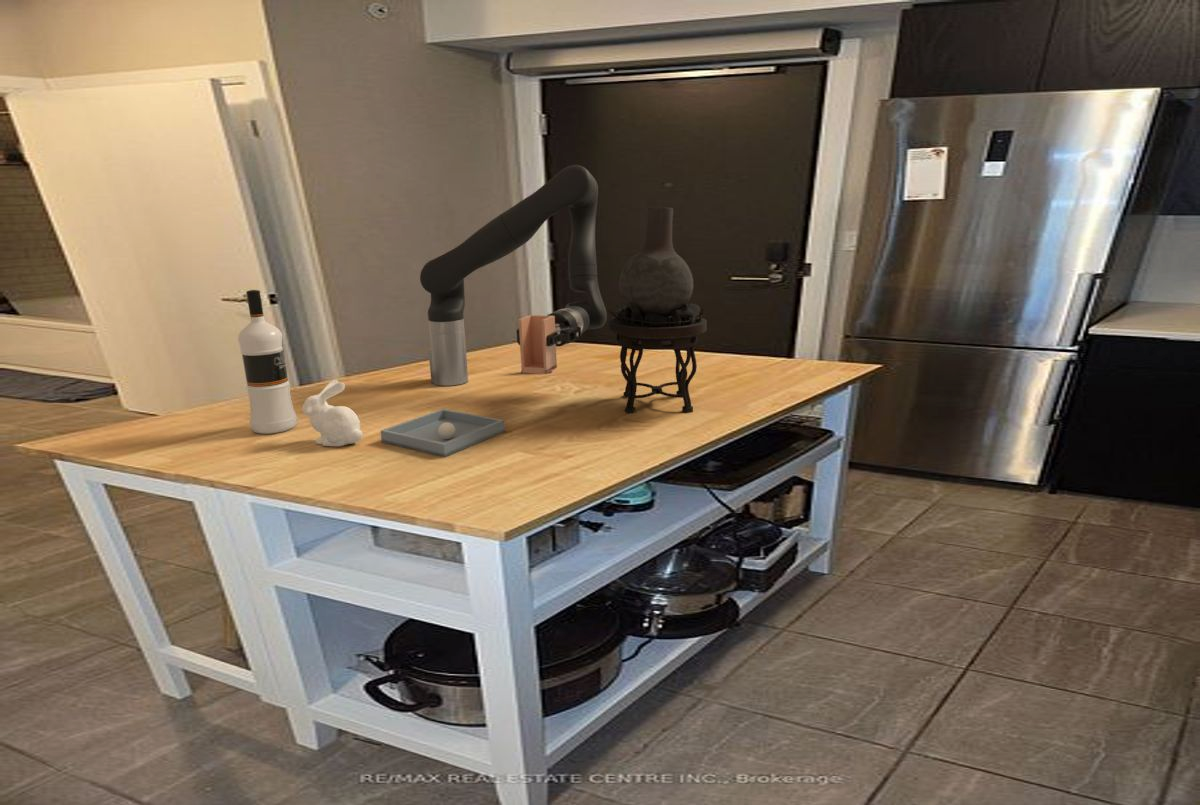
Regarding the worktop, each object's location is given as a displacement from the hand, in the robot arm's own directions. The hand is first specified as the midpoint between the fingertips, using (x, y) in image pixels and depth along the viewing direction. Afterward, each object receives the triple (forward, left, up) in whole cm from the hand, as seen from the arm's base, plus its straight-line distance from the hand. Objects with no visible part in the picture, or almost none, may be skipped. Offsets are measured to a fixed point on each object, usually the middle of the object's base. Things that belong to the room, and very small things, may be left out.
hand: (534, 340), depth 136 cm
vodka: (-52, -27, -19) cm, 61 cm away
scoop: (-1, +2, -7) cm, 7 cm away
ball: (-12, -14, -17) cm, 25 cm away
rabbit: (-33, -26, -19) cm, 46 cm away
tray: (-15, -13, -19) cm, 27 cm away
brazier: (+12, +30, -19) cm, 38 cm away
